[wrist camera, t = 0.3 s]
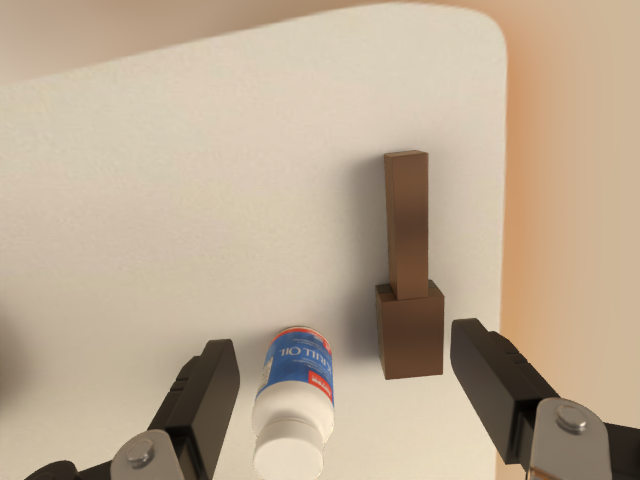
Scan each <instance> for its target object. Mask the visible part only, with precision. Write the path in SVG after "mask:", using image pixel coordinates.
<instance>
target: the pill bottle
mask: <svg viewBox="0 0 640 480" xmlns="http://www.w3.org/2000/svg"><path fill="white" fill-rule="evenodd" d="M333 426H334V397H333V374H332V353H331V348H330V345H329V343H328V341H327V340H326V339H325V337H324V336H322V335H321V334H320V333H319V332H317V331H315V330H313V329H311V328H307V327H292V328H288V329H285V330H283V331H282V332H280V333H279V334H277V335H276V336H275V337H274V339H273V340H272V342H271V343H270V346H269V348H268V352H267V356H266V360H265V364H264V368H263V372H262V375H261V379H260V383H259V387H258V391H257V395H256V399H255V403H254V407H253V412H252V427H253V431H254V433H255V435H256V437H257V439H256V445H255V451H254V456H253V466H254V469H255V471H256V473H257V474H258V475H259V477H260V478H261V479H263V480H315V479H316V478H317V477H318V476H319V474H320V473H321V471H322V468H323V451H324V443H325V442H326V441H327V440H328V438H329V437H330V435H331V433H332V430H333Z"/></svg>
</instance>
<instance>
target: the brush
mask: <svg viewBox="0 0 640 480" xmlns="http://www.w3.org/2000/svg"><path fill="white" fill-rule="evenodd" d="M384 163H385V186H386V209H387V233H388V256H389V279H390V284H388V285H378V286H375V292H376V308H377V325H378V341H379V358H380V361H381V365H382V369H383V372H384V376H385V379H386V380H390V379H401V378H411V377H422V376H432V375H442V374H443V340H444V295H443V294H442V292H441V291H440V290H439V288H438V287H437V286H436V285H435V283H434V282H433V281H432V280H428V153H426V152H421V151H416V150H413V151H405V152H396V153H387V154H384Z"/></svg>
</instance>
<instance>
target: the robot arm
mask: <svg viewBox="0 0 640 480" xmlns="http://www.w3.org/2000/svg"><path fill="white" fill-rule="evenodd" d="M450 359H451V365H452V368H453V371H454V373H455V375H456V377H457V379H458V381H459V382H460V384H461V386H462V388H463V390H464V391H465V393H466V395H467V397H468V398H469V400H470V402H471V404H472V406H473V407H474V409H475V411H476V413H477V415H478V416H479V418H480V420H481V422H482V423H483V425H484V427H485V429H486V431H487V432H488V434H489V436H490V438H491V440H492V441H493V443H494V445H495V447H496V449H497V450H498V452H499V454H500V456H501V457H502V459H503V461H504V462H505V464H506V465H507V464H521V465H522V467H523V469H524V470H525V472H526V475H525V480H640V429H637V428H631V427H626V426H620V425H615V424H609V423H605V422H602V420H601V419H600V418H599V417H598V416H597V415H596V414H594V413H593V412H592V411H590V410H589V409H588V408H586V407H584V406H583V405H580V404H578V403H576V402H573V401H571V400H567V399H563V398H561V397H560V396H559V395H558V394H557V393H556V392H555V390H554V389H553V388H552V387H551V386H550V385H549V384H548V383H547V382H546V380H545V379H544V378H543V377H542V376H541V375H540V374H539V373H538V372H537V371H536V369H535V368H534V367H533V366H532V365H531V364H530V363H528V362H527V359H526V358H525V357H524V356H523V355H522V354H521V353H519V351H518V350H517V349H516V347H515V346H514V345H513V344H512V343H511V342H510V341H509V340H508V339H506V338H505V337H503V336H501V335H500V334H498V333H497V332H495V331H490V332H488V331H487V330H486V329H485V327H484V326H483V325H482V324H481V323H480V321H479V320H478V319H476V318H469V319H458V320H453V322H452V328H451V348H450ZM239 386H240V374H239V369H238V364H237V360H236V355H235V351H234V347H233V343H232V340H231V339H221V340H210V341H208V343H207V344H206V346H205V348H204V350H203V352H202V354H201V356H194V357H193V358H192V359H191V360H190V361H189V362H187V363H186V364H185V365H184V366H183V367H182V369H181V371H180V373H179V374H178V376H177V378H176V382H174V383H173V385H172V387H171V388H170V392H168V394H167V396H166V397H165V399H164V401H163V403H162V404H161V406H160V408H159V410H158V411H157V413H156V415H155V417H154V419H153V420H152V422H151V424H150V426H149V427H148V429H147V431H145V432H143V433H140V434H138V435H136V436H135V437H133V438H132V439H130V440H129V441H128V442H127V443H125V444H124V445H123V446H122V447H121V448H120V450H119V451H118V452H117V454H116V455H115V457H114V458H113V460H110V461H108V462H105V463H102V464H100V465H97V466H94V467H91V468H89V469H86V470H83V471H80V472H78V471H77V469H76V467H75V465H74V464H73V463H72V462H70V461H66V460H64V461H57V462H53V463H50V464H48V465H46V466H44V467H42V468H40V469H38V470H37V471H35V472H34V473H32V474H31V475H29V476H28V477H27V478H26V479H24V480H212V478H213V475H214V471H215V468H216V465H217V461H218V458H219V455H220V451H221V448H222V445H223V441H224V438H225V435H226V431H227V428H228V425H229V421H230V418H231V415H232V411H233V408H234V405H235V401H236V398H237V395H238V391H239Z"/></svg>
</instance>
